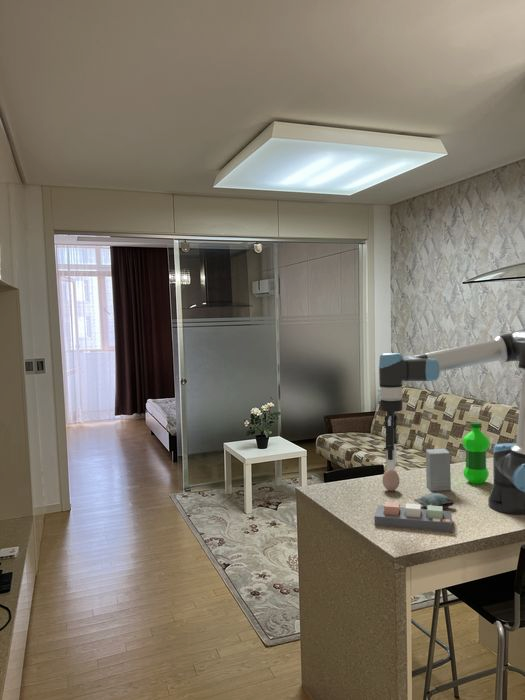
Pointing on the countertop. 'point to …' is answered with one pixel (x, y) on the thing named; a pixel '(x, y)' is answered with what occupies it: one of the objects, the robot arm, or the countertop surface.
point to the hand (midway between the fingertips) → (391, 465)
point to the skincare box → (438, 470)
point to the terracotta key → (392, 508)
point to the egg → (390, 480)
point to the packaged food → (435, 500)
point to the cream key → (413, 510)
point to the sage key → (434, 512)
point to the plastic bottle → (476, 454)
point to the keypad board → (414, 520)
